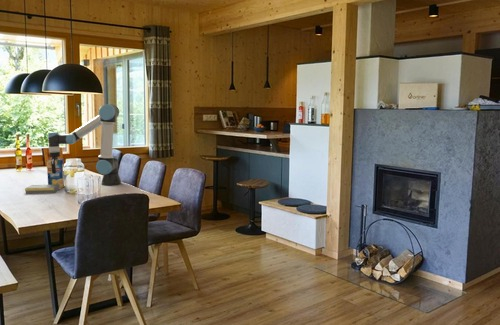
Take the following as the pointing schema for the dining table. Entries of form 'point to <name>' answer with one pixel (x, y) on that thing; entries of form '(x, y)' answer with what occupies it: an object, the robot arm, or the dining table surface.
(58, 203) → the dining table surface
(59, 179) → the beverage box
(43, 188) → the panel
